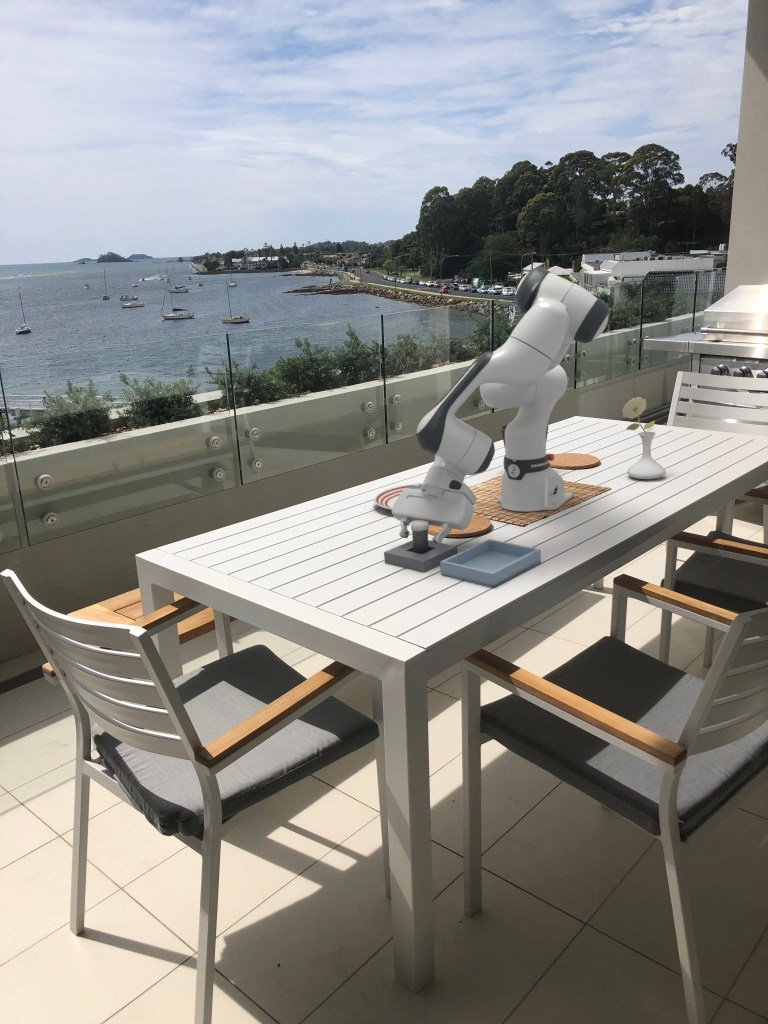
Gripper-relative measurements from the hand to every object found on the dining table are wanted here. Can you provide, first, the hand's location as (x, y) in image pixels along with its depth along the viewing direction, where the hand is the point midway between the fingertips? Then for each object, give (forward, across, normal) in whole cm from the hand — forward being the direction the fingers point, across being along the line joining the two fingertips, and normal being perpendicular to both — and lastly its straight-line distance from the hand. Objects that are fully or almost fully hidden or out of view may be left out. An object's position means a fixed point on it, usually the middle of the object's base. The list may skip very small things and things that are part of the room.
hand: (419, 539), depth 174 cm
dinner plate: (-24, -28, +32) cm, 48 cm away
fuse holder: (+3, 0, +4) cm, 5 cm away
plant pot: (-55, -17, +62) cm, 84 cm away
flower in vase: (-62, +18, +69) cm, 94 cm away
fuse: (+3, 0, +4) cm, 5 cm away
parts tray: (+2, +17, +6) cm, 18 cm away
